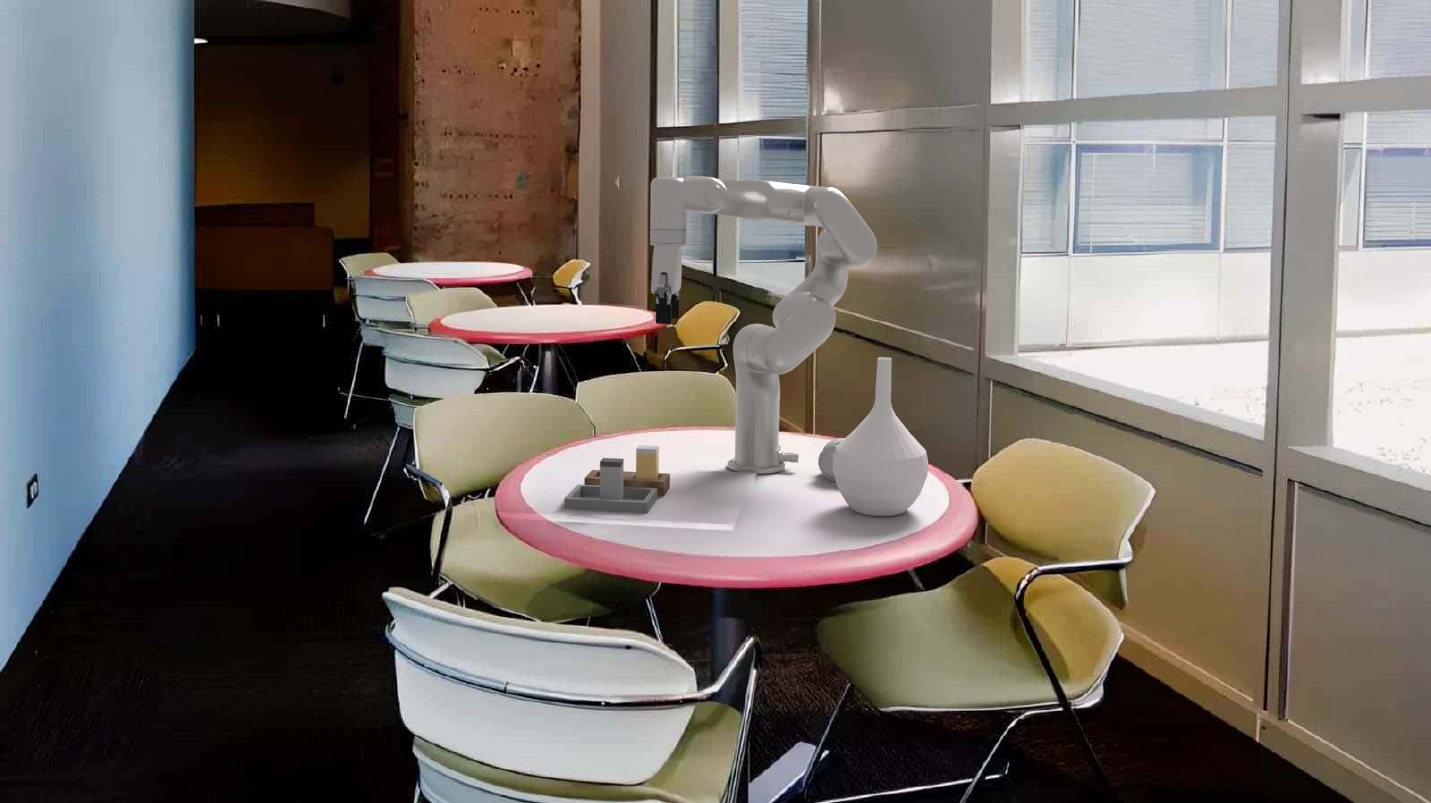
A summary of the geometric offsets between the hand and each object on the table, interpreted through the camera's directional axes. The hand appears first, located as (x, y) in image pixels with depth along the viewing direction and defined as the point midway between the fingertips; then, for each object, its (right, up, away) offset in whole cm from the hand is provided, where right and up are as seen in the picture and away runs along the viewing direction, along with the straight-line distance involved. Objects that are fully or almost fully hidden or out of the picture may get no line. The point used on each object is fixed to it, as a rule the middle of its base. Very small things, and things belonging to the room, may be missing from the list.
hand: (667, 320), depth 273 cm
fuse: (-4, -35, -10) cm, 36 cm away
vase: (+42, -38, -17) cm, 59 cm away
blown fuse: (-10, -37, -20) cm, 43 cm away
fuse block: (-8, -36, -9) cm, 37 cm away
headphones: (+42, -34, +8) cm, 54 cm away
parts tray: (-10, -37, -19) cm, 43 cm away
